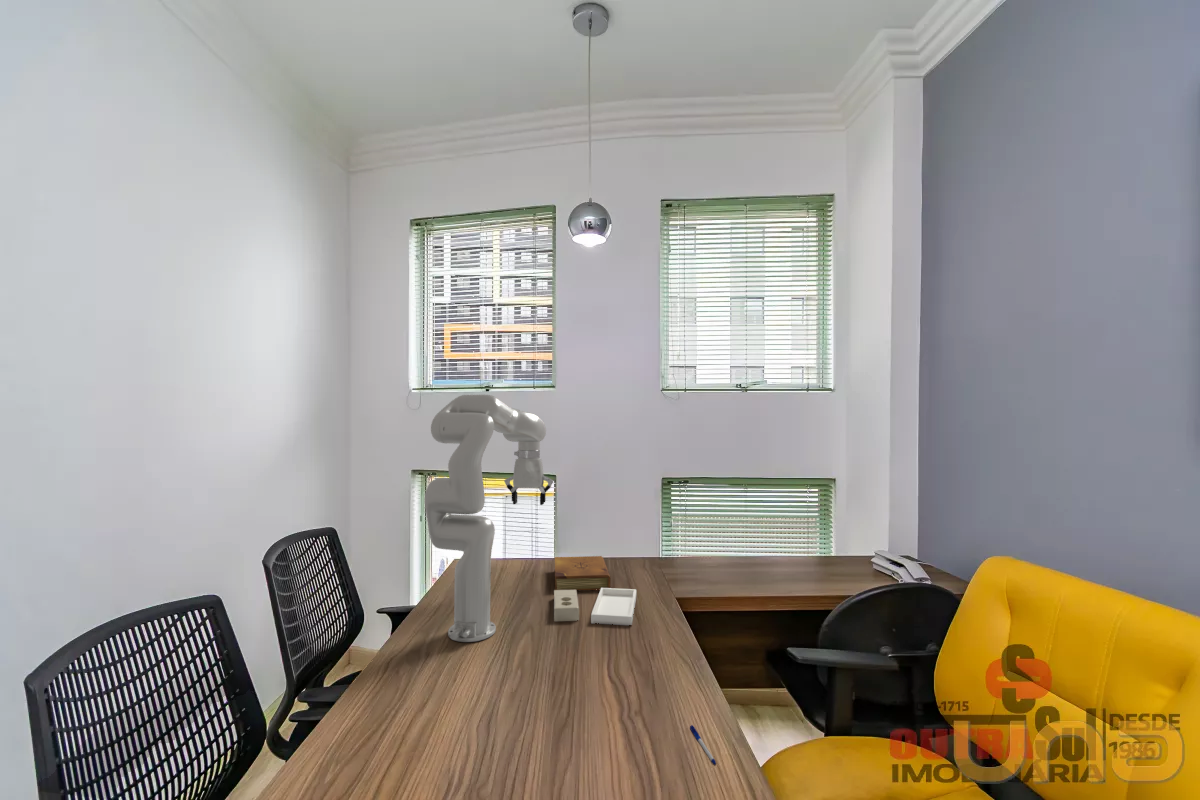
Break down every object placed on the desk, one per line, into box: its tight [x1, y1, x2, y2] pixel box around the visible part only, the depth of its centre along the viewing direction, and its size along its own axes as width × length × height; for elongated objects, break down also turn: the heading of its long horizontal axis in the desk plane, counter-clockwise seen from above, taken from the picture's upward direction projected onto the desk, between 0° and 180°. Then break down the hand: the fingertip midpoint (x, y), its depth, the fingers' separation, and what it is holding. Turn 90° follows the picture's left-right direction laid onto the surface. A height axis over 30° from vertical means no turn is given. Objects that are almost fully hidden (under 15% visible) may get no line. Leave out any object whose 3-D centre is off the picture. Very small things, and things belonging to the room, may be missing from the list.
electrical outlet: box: [553, 589, 580, 622], centre depth 156 cm, size 7×4×18 cm
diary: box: [554, 555, 611, 591], centre depth 184 cm, size 23×19×6 cm
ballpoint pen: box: [689, 724, 717, 765], centre depth 92 cm, size 10×1×1 cm, turn 14°
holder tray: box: [590, 587, 637, 626], centre depth 156 cm, size 23×12×2 cm, turn 173°
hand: (528, 504), depth 179 cm, fingers open, 9 cm apart
